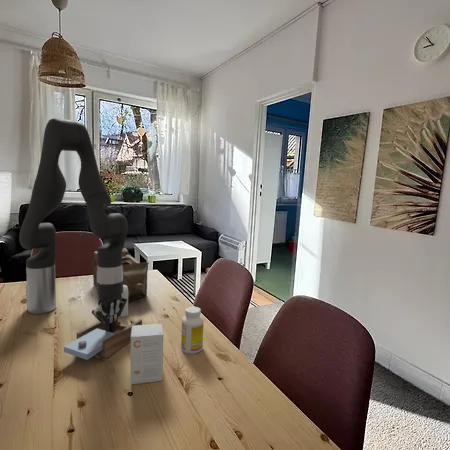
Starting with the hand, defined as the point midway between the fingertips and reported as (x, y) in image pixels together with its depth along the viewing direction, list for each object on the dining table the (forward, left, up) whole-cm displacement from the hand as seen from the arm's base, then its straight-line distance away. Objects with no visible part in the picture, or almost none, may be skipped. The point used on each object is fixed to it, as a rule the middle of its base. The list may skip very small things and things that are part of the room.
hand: (110, 332), depth 95 cm
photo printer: (-12, +14, -4) cm, 19 cm away
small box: (+20, -8, -4) cm, 22 cm away
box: (0, 0, -4) cm, 4 cm away
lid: (0, -7, 0) cm, 7 cm away
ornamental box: (-25, +34, -4) cm, 42 cm away
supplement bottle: (+24, +9, -4) cm, 26 cm away
